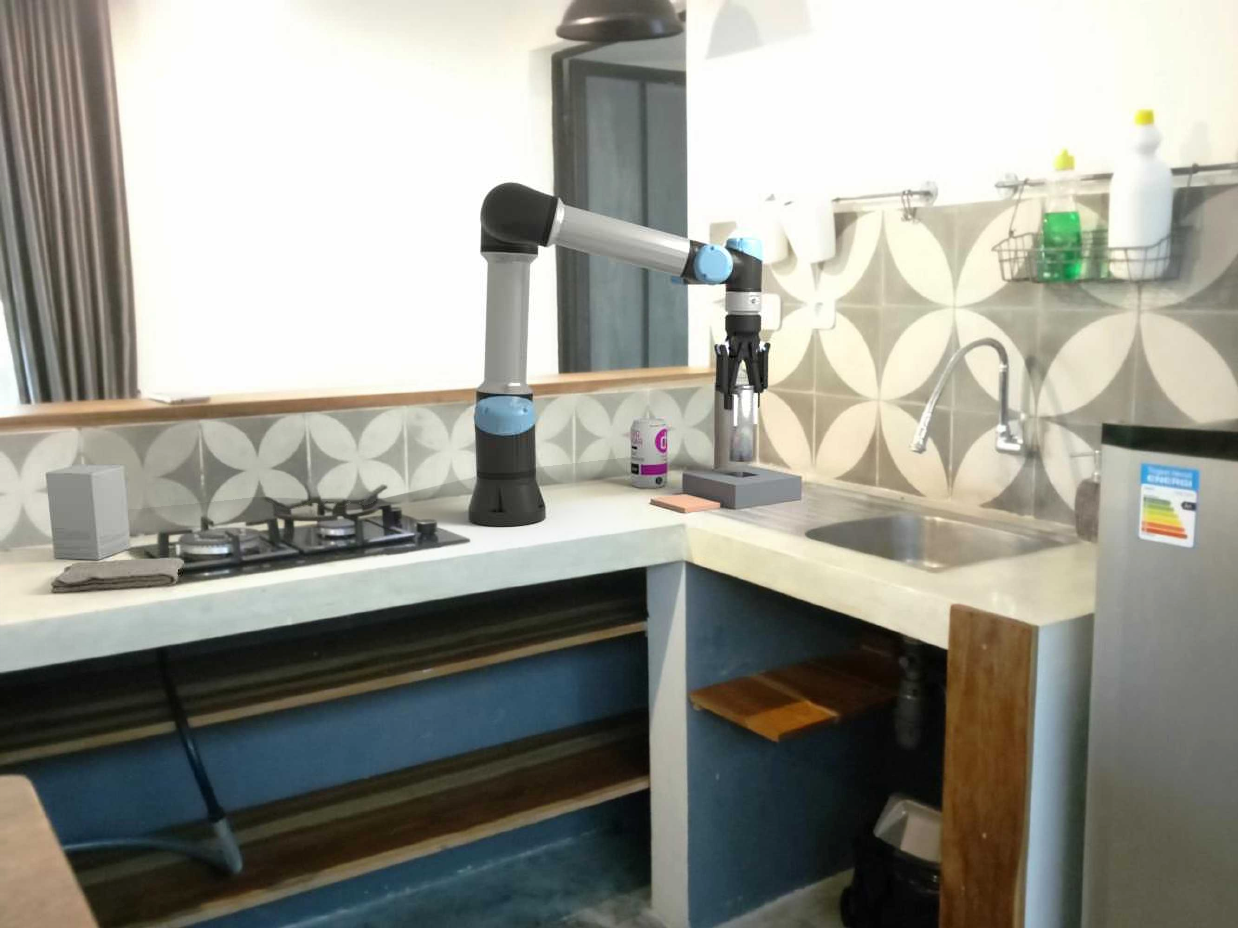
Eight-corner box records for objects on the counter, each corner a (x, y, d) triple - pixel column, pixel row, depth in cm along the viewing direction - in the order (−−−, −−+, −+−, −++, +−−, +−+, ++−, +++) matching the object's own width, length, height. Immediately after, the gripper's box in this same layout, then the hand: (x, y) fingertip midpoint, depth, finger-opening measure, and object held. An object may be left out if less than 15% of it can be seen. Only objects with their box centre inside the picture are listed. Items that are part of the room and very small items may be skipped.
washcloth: (67, 578, 174) (65, 559, 174) (187, 570, 179) (185, 551, 178) (49, 598, 163) (47, 578, 162) (177, 589, 167) (175, 569, 167)
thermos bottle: (750, 473, 262) (751, 357, 258) (744, 479, 255) (745, 359, 250) (717, 472, 265) (718, 357, 260) (710, 478, 257) (711, 359, 252)
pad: (684, 513, 218) (684, 508, 218) (650, 503, 228) (650, 498, 228) (720, 507, 223) (720, 503, 223) (685, 498, 233) (685, 494, 232)
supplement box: (133, 548, 192) (126, 464, 189) (99, 561, 183) (91, 473, 181) (87, 546, 194) (80, 463, 191) (52, 558, 185) (43, 471, 182)
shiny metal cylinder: (739, 462, 229) (740, 386, 226) (724, 459, 233) (725, 385, 230) (757, 460, 231) (758, 385, 229) (742, 457, 235) (743, 383, 233)
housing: (735, 509, 221) (735, 485, 220) (682, 495, 236) (682, 472, 235) (801, 499, 231) (801, 476, 230) (746, 486, 246) (746, 464, 245)
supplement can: (673, 484, 249) (673, 419, 247) (655, 490, 242) (655, 423, 240) (643, 481, 254) (642, 417, 251) (624, 486, 247) (624, 421, 244)
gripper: (720, 314, 219) (719, 429, 223) (787, 313, 229) (785, 423, 233) (697, 313, 225) (696, 425, 229) (764, 312, 235) (762, 419, 239)
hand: (741, 424), depth 231 cm, fingers closed on shiny metal cylinder, 5 cm apart
